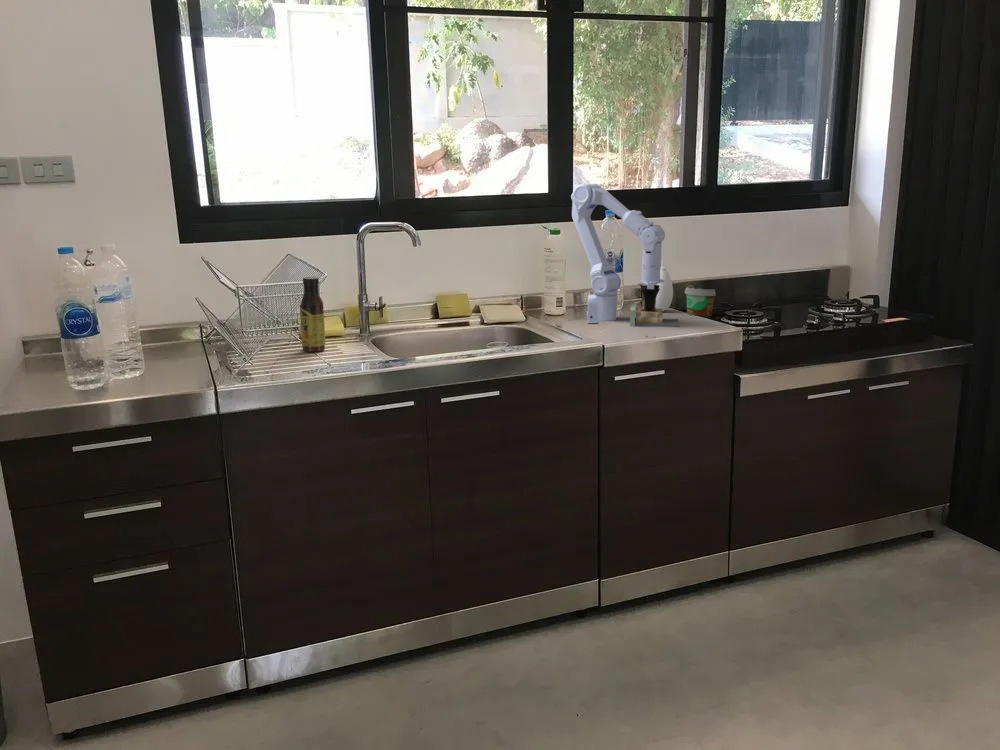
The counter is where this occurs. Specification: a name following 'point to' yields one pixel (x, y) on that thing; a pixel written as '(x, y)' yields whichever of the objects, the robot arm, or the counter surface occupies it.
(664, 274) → the sauce bottle
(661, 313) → the maple block
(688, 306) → the food container
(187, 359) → the counter surface
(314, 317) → the sauce bottle
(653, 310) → the walnut dowel
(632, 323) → the slide board
